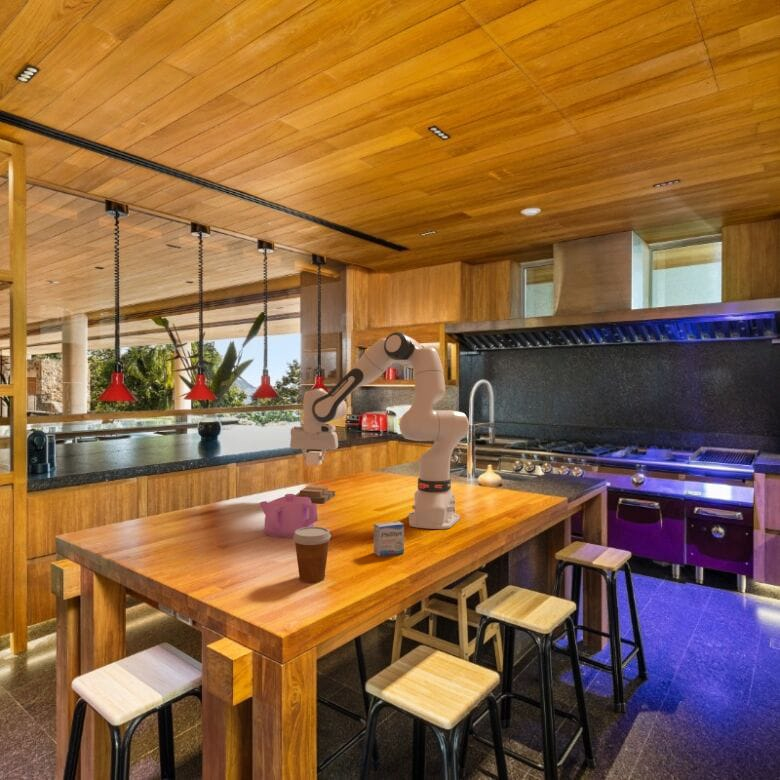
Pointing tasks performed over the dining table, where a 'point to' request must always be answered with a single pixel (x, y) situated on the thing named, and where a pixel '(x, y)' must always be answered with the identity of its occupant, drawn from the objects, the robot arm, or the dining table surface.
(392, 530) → the medicine box
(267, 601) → the dining table surface
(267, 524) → the teakettle
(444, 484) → the robot arm
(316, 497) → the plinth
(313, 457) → the cream block
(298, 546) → the disposable coffee cup
